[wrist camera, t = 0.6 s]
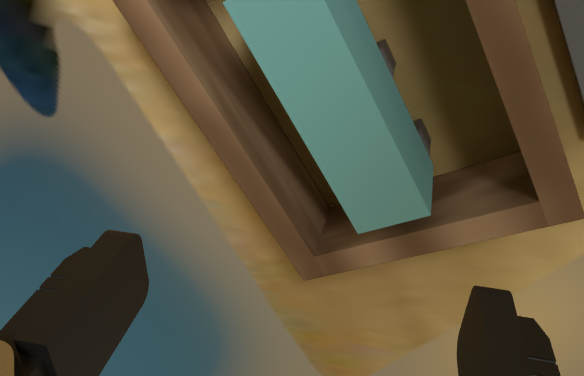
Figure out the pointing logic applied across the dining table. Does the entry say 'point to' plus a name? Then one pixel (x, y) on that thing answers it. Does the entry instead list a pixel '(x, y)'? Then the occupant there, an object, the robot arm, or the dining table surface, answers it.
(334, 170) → the teal rectangular block
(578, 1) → the slate mat
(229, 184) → the dining table surface
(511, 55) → the pocket
